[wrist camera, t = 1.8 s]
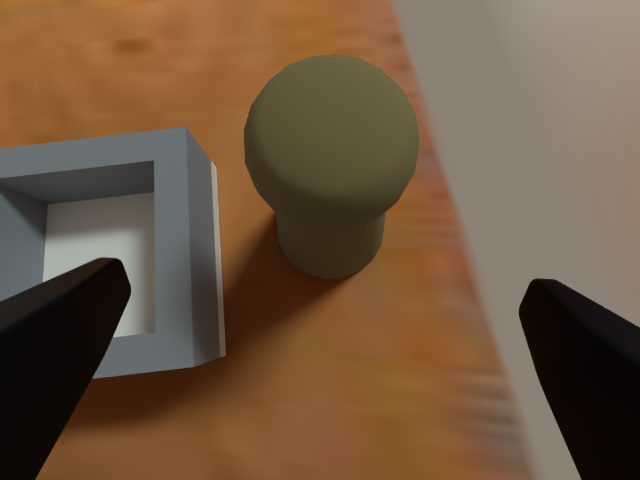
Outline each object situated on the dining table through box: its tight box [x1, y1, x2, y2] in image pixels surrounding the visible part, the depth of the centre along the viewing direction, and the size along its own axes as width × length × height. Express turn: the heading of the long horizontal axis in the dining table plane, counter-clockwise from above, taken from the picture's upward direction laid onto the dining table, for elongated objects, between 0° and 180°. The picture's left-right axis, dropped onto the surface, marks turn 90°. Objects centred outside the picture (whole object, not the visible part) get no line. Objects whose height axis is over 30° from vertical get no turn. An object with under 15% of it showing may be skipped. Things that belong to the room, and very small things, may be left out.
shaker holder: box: [0, 127, 226, 379], centre depth 17 cm, size 11×11×4 cm
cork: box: [244, 54, 419, 280], centre depth 14 cm, size 6×6×11 cm
